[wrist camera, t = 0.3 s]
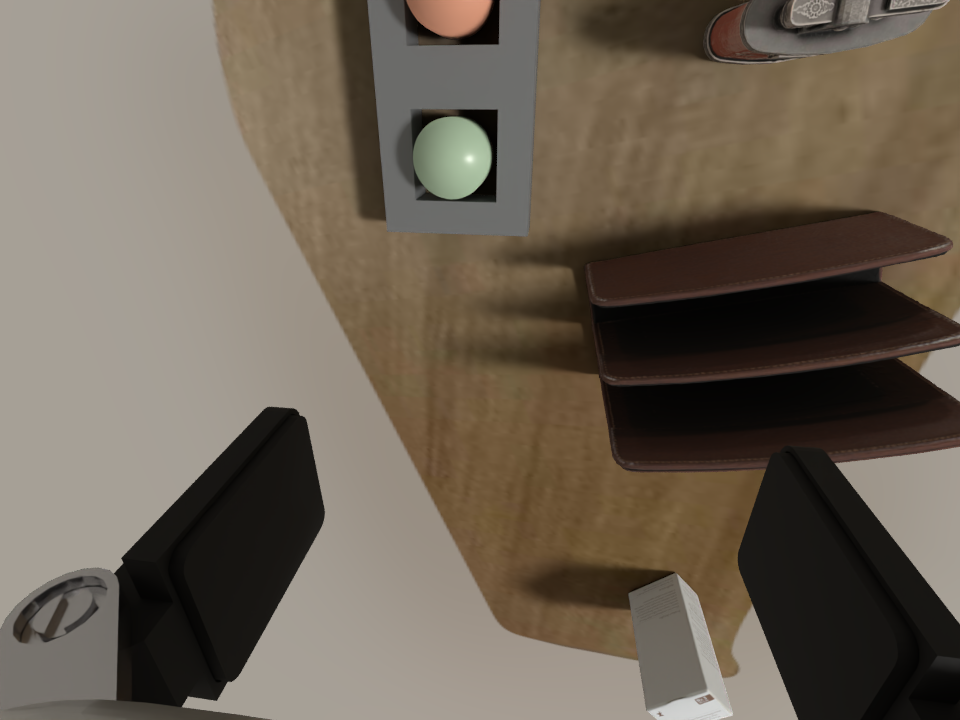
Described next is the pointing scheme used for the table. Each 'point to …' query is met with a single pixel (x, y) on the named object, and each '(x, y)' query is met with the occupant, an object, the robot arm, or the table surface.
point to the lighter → (808, 27)
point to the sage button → (453, 156)
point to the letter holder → (770, 348)
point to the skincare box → (676, 653)
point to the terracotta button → (452, 16)
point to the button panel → (455, 85)
